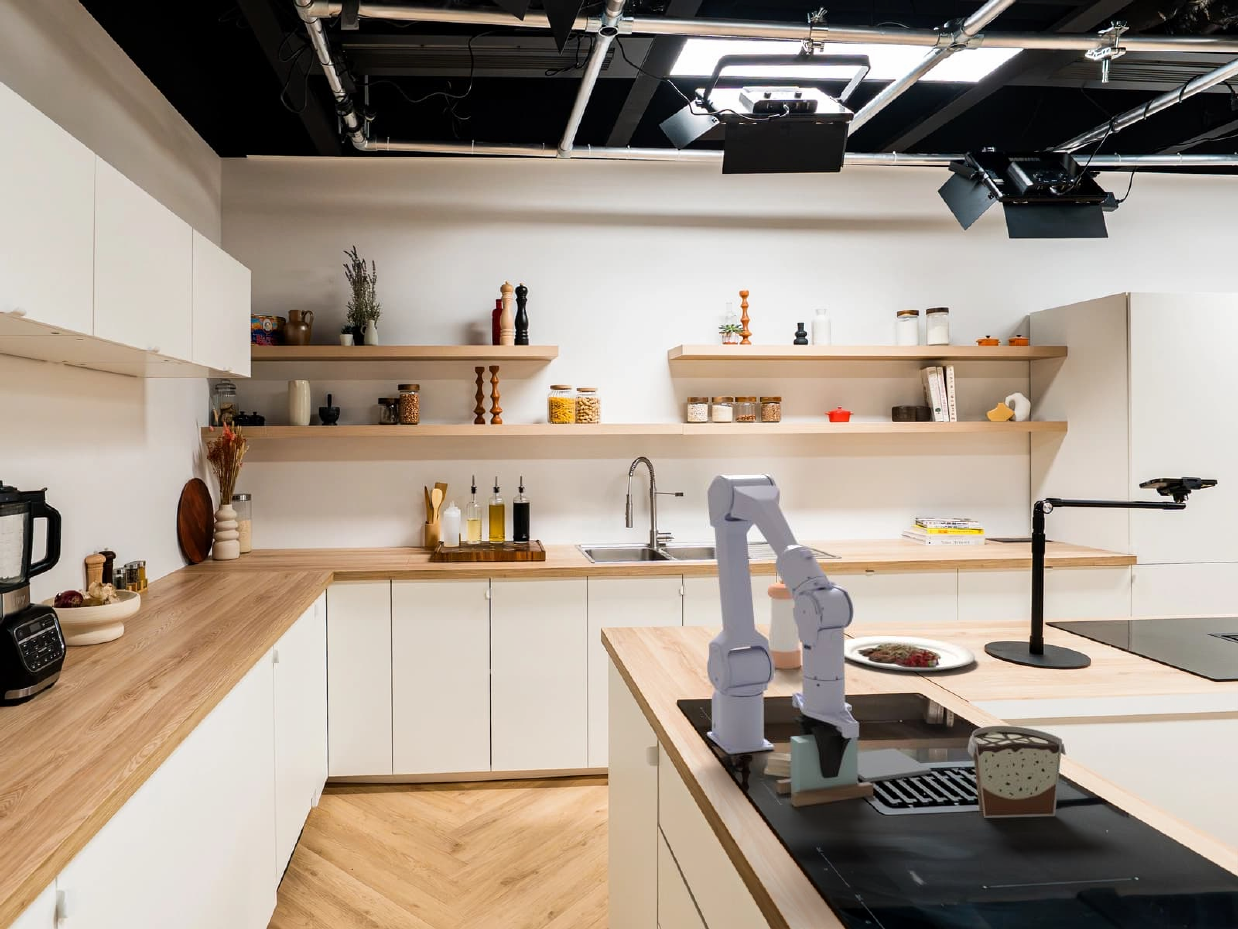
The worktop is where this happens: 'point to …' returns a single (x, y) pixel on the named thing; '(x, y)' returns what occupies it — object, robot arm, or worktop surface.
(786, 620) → the pepper shaker
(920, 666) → the plated food
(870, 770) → the slate mat
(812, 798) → the walnut rack
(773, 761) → the offcut planks
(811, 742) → the tall board
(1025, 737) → the food container
